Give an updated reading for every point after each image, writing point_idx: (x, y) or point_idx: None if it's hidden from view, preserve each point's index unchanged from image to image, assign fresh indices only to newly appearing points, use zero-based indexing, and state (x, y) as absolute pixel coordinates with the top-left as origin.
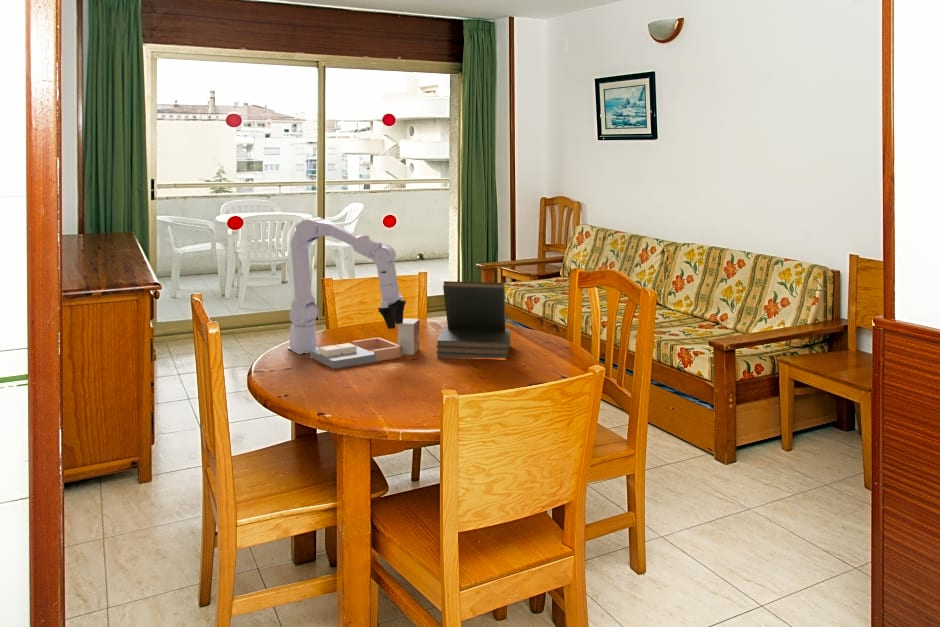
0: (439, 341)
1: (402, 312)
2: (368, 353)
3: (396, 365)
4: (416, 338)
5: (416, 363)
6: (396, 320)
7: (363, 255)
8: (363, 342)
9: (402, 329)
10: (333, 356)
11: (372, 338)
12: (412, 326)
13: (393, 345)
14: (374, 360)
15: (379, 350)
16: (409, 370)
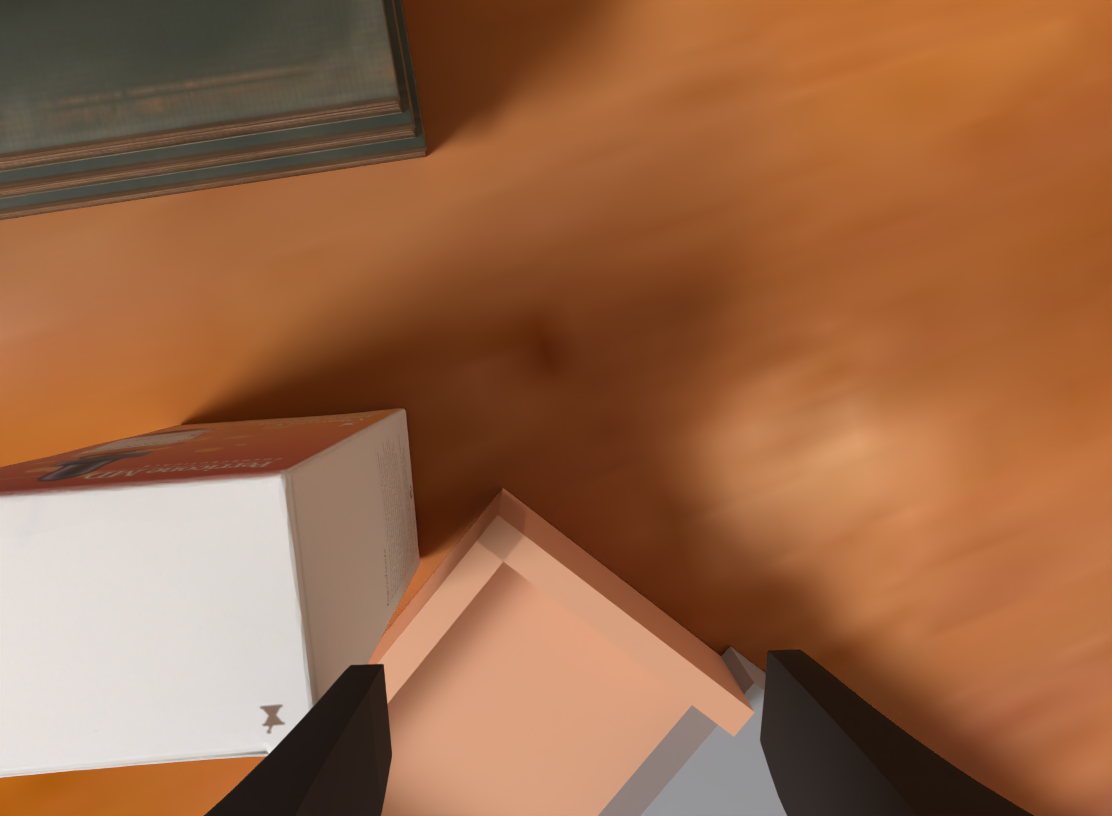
0: (383, 63)
1: (300, 801)
2: (753, 758)
3: (793, 441)
4: (244, 434)
5: (679, 290)
6: (376, 794)
7: None
8: None
9: (347, 624)
10: None
11: None
12: (310, 484)
13: (445, 630)
14: (749, 663)
15: (717, 682)
16: (919, 277)
